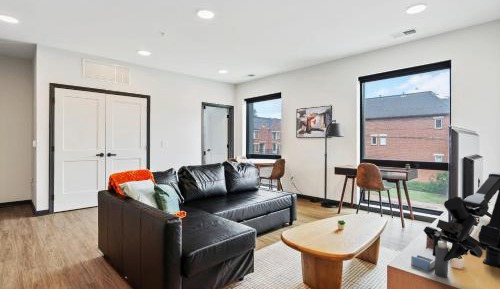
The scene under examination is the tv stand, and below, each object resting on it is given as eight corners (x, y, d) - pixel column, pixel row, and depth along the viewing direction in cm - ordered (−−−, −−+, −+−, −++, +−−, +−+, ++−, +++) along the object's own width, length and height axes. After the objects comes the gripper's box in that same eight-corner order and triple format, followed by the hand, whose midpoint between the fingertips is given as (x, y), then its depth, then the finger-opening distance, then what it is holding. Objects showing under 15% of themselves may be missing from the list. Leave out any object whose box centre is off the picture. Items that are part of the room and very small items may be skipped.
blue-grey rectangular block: (427, 253, 119) (427, 245, 119) (444, 258, 114) (444, 250, 114) (411, 264, 108) (411, 256, 108) (429, 270, 103) (429, 262, 103)
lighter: (424, 249, 123) (425, 228, 123) (427, 247, 125) (427, 226, 125) (445, 255, 117) (446, 233, 117) (447, 253, 119) (448, 231, 119)
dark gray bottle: (436, 271, 103) (437, 239, 102) (449, 275, 100) (450, 242, 99) (432, 274, 100) (434, 241, 100) (445, 278, 97) (447, 245, 97)
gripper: (427, 206, 109) (406, 235, 106) (478, 220, 92) (455, 255, 89) (440, 224, 112) (420, 252, 109) (492, 240, 94) (470, 275, 91)
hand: (439, 258), depth 99 cm, fingers closed on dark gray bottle, 4 cm apart
